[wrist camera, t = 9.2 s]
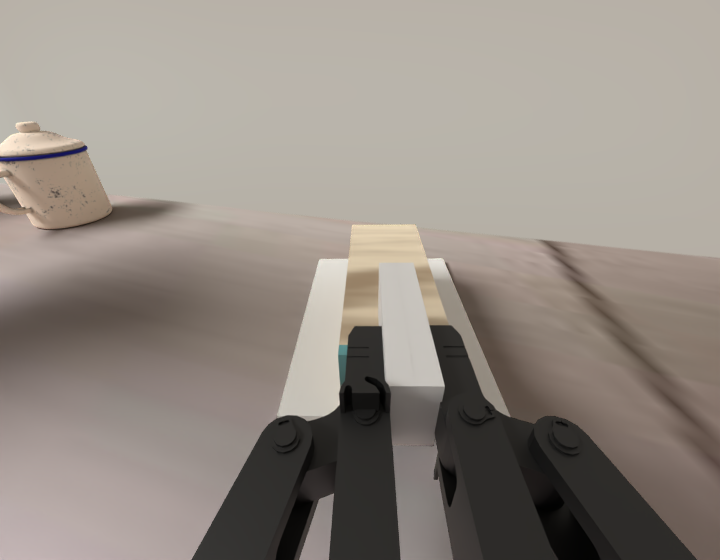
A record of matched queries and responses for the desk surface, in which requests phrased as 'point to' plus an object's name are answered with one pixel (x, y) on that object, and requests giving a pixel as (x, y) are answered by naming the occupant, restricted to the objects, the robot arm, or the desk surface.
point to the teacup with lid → (51, 179)
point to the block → (363, 277)
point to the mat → (322, 334)
